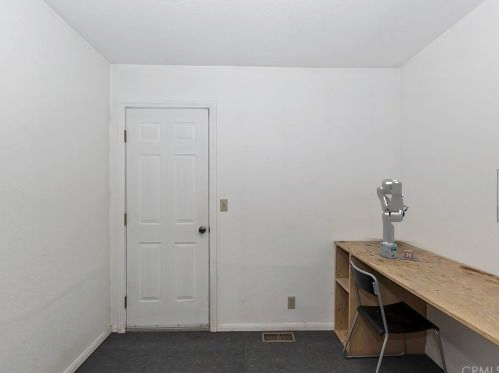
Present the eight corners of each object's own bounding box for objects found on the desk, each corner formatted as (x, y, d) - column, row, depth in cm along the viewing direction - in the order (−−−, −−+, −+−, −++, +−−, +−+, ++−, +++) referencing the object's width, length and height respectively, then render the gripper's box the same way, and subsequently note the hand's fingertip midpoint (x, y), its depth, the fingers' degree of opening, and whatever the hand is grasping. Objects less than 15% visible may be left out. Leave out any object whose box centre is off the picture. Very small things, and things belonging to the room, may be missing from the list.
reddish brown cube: (404, 256, 217) (404, 249, 216) (412, 257, 214) (412, 250, 214) (404, 258, 212) (404, 251, 212) (413, 259, 209) (413, 252, 209)
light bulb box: (397, 258, 214) (397, 244, 214) (391, 259, 211) (391, 245, 211) (386, 254, 224) (386, 241, 223) (379, 255, 221) (379, 242, 221)
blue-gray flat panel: (399, 255, 221) (399, 255, 221) (416, 257, 215) (416, 256, 215) (400, 259, 210) (400, 258, 210) (418, 261, 205) (418, 260, 205)
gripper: (408, 196, 229) (408, 216, 230) (385, 195, 237) (385, 215, 238) (408, 196, 223) (408, 217, 223) (385, 196, 231) (385, 216, 231)
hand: (396, 216), depth 230 cm, fingers open, 9 cm apart
